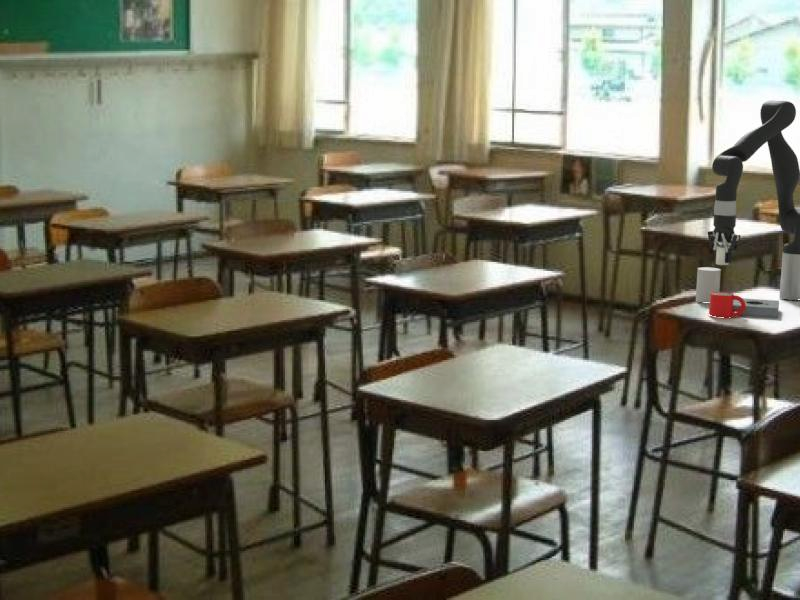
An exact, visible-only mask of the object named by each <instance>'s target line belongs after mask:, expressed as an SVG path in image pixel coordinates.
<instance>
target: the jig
mask: <svg viewBox="0 0 800 600" xmlns="http://www.w3.org/2000/svg"><path fill="white" fill-rule="evenodd" d="M741 298H742V299H743V300H744V301H745V304H746V308H745V311H744V312H743V313H742V314H741V315H739V317H751V318H764V319H766V318H767V319H778V317H779V307H780V301H779V300H775V299H774V300H773V299H760V298H759V299H756V298H743V297H741ZM740 309H741V303H740V302H739V301H738V300H734V301H733V312H738V311H739V310H740Z"/></svg>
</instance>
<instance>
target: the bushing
mask: <svg viewBox="0 0 800 600" xmlns="http://www.w3.org/2000/svg"><path fill="white" fill-rule="evenodd" d="M725 253H726V251H725V246H724V245H722V246H718V247H717V251H716V261H715V264H716V265H719V266H729V264H730V263H725Z"/></svg>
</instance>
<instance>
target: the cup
mask: <svg viewBox="0 0 800 600" xmlns="http://www.w3.org/2000/svg"><path fill="white" fill-rule="evenodd" d="M721 271H722V269H720V268H717V267H709V266H706V267H705V266H704V267H697V273H696V275H697V276H696V289H695V290H696V292H695V302H697V303H699V302H710V293H712V292H720V289H721V288H720V287H721V286H720V285H721Z"/></svg>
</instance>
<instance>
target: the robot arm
mask: <svg viewBox="0 0 800 600" xmlns="http://www.w3.org/2000/svg"><path fill="white" fill-rule="evenodd" d="M759 115H760V120H761V125H760V126H758V127H756V128H754V129H752V130H750V131H748V132H747V133H745V134H743V136H742V137H740V139H738V141H737V142H736V143H734V145H733V146H731V147H729V148H727V149H725V150H723V151H722V152H720V153H719V154H718V155H717V156H716V157H715V158H714V160H713V162H712V164H711V167H712V168H711V169H712V171H713V173H714V174H715V175H717V176H722V177H726V179H725V181H724V182H721V183H720V182H719V183H718V184H717V185H716V188H715V199H714V200H715V202H714V206H713V210H714V211H713V227H714V229H713V230H709V231H707V238H708V245H709V248H710V249H712V250H713V259H714V262H716V251H717V247H718V246H725V251H726V253H725V263H729V264H730V263H731V262H732V259H733V258H732V257H733V253H734V252H736V251H737V250H738V247H739V245H740V244H739V243H740V240H741V237H742V236H741V234H736V233H735V231H734V229H735V228H736V223H737V194H738V193H737V190H738V188H739V184H740V181H741V178H742V176H743V175H742V174H743V171H744V164H743V163H745V162H746V161H748V160H749V159H750V158H752V156H753V155H755V153H756V152H757V151H758V150H759V149H761V147H763V146H764V144H766V143H767V147H768V151H769V155H770V156H769V157H770V161H771V169H772V173H773V179H774V183H775V184H774V185H775V189H776V197H777V207H778V218H779V225H780V228H781V230H782V232H783V233H786V234H788V235H789V234H790V235H794V236H793V237H794V238H793V240H792V241H791V242H789V243H788V242H787V243H785V244H783V246H782V258H781V273H780V283H779V284H780V285H779V287H780V288H779V297H780V298H782V299H781V300H784V299H788V300H787V301H792V300H798V299H800V209H798V208H795V203H794V194H795V193H794V192H795V191H796V188H797V186H798V184H799V181H800V164H799V158H798V157H797V155H796V153H795V152H794V150H793V148H792V147H791V146H790V144H788V142H787V140H786V139H785V137H784V135H783V132H782V131H784V130H785V129H786V128H788V127H789V126H791V125H792V124H793V122H794V121H795V119H796V115H797V110H796V107H795V104H794V103H793V102H791V101H788V100H766V101H764V102H763V104H762V105H761V107H760V114H759ZM780 298H779V299H780Z"/></svg>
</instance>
